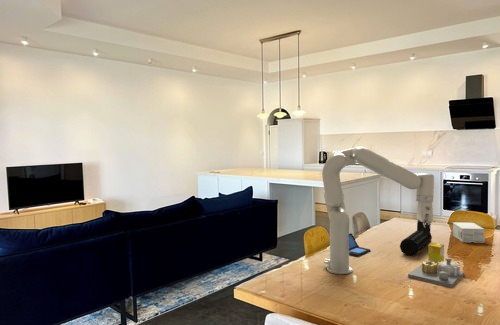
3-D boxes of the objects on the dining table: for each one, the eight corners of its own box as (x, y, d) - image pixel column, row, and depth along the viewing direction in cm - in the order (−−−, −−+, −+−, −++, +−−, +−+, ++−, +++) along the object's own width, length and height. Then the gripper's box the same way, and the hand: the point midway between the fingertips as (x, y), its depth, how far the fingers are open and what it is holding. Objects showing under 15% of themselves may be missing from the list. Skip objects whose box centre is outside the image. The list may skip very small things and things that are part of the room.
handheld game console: (357, 257, 207) (357, 241, 207) (337, 252, 217) (337, 237, 216) (371, 251, 218) (371, 236, 217) (351, 247, 228) (351, 232, 227)
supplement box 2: (452, 235, 249) (452, 222, 248) (473, 236, 246) (473, 222, 246) (461, 242, 232) (462, 228, 232) (484, 243, 230) (485, 228, 229)
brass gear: (424, 273, 176) (424, 265, 175) (419, 268, 182) (420, 261, 182) (439, 274, 174) (439, 266, 174) (434, 269, 181) (434, 261, 181)
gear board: (408, 277, 176) (408, 260, 175) (423, 266, 190) (423, 250, 190) (451, 287, 163) (451, 269, 162) (464, 275, 177) (464, 258, 176)
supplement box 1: (432, 262, 196) (432, 242, 195) (444, 265, 191) (444, 244, 191) (427, 265, 191) (428, 244, 191) (440, 268, 187) (440, 247, 186)
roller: (416, 237, 240) (421, 223, 238) (431, 244, 234) (437, 230, 232) (397, 251, 211) (402, 236, 208) (414, 259, 205) (420, 244, 203)
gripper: (438, 201, 170) (437, 238, 171) (427, 196, 187) (426, 229, 188) (421, 201, 171) (420, 237, 172) (411, 195, 188) (410, 228, 189)
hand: (423, 233), depth 180 cm, fingers open, 9 cm apart
